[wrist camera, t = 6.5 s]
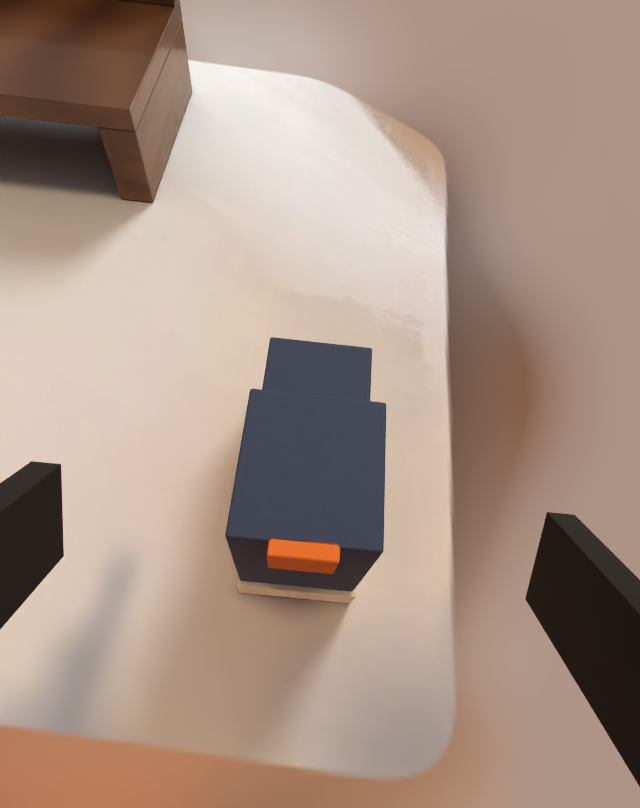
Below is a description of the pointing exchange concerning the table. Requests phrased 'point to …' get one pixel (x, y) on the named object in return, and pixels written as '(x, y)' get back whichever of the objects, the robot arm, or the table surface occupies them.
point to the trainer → (309, 475)
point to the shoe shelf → (101, 77)
